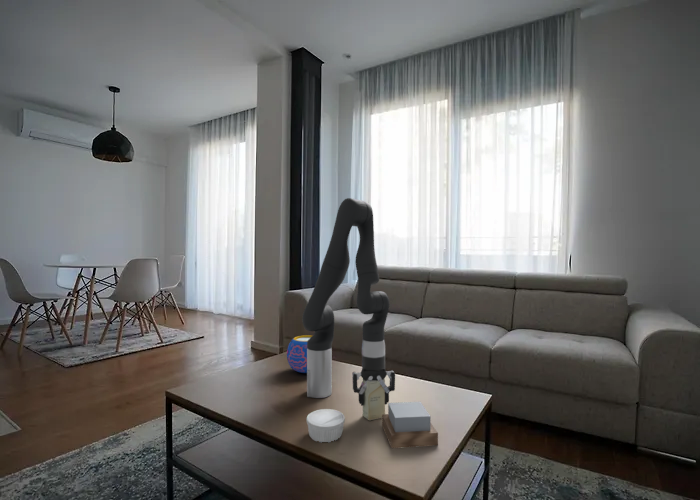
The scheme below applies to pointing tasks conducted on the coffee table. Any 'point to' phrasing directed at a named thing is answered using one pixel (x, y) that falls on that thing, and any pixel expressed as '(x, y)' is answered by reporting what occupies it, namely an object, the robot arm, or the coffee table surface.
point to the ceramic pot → (298, 353)
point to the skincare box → (374, 400)
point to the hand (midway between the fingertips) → (373, 404)
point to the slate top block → (409, 417)
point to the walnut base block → (408, 436)
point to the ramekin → (325, 425)
